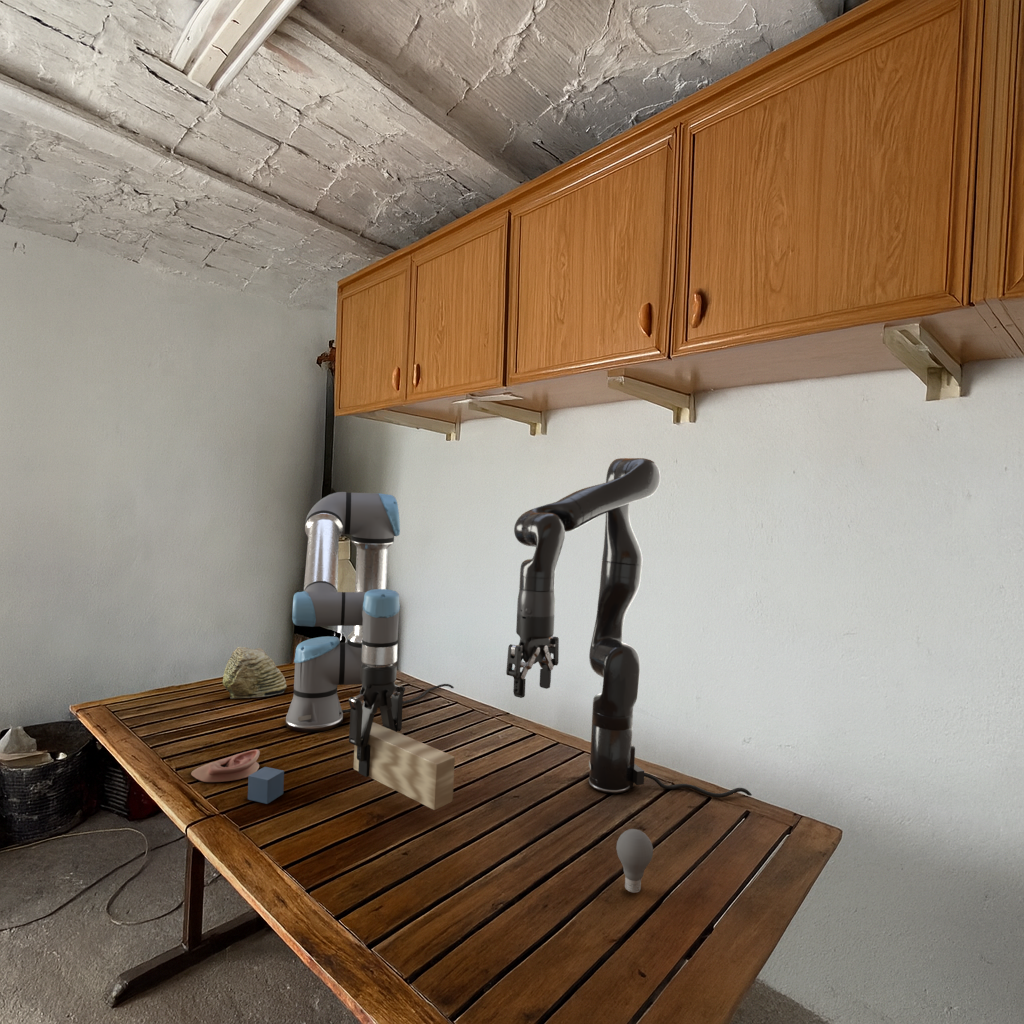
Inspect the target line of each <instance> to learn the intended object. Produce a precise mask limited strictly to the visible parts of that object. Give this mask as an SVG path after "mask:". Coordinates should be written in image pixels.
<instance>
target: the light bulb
mask: <svg viewBox="0 0 1024 1024" xmlns="http://www.w3.org/2000/svg"><path fill="white" fill-rule="evenodd" d="M615 849H616V854H617V857H618V859H619V861H620V863H621V865H622V867H623V873H624V874H623V875H624V876H625V878H624V888H625V890H627V891H628V892H630V893H634V894H635V893H639V892H640V891H641V889H642V887H641V886H642V879H643V877H644V875H645V871H646V868H647V867H648V866H649V864H650V863H651V861H652V859H653V855H654V847H653V843H652V841H651V838H649V836H648V835H647V834H646V833H645V832H643V831H642V830H641V829H636V828H629V829H627V830H625V831H623V832H622V833H621V834H620V835H619V837H618V839H617V841H616V847H615Z"/></svg>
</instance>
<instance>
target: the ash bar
mask: <svg viewBox="0 0 1024 1024" xmlns="http://www.w3.org/2000/svg"><path fill="white" fill-rule="evenodd" d="M368 745H371V747H370V770H369V776H368V777H367V778H371V779H372V780H374V781H377V782H378V783H380V784H382V785H384V786H386V787H388V788H390V789H392V790H393V791H396V792H398V793H399V794H402V795H403V796H406V797H407V798H409V799H412V800H413V801H415V802H417V803H419V804H421V805H423V806H425V807H426V808H429V809H431V810H433V811H436V810H438V809H440V808H442V807H444V806H446V805H448V804H450V803H452V802H453V801H454V781H455V764H456V763H455V762H456V761H455V760H456V757H455V756H454V755H452V754H450V753H447V752H445V751H443V750H440V749H438V748H436V747H433V746H431V745H429V744H427V743H423V742H421V741H419V740H417V739H415V738H412V737H409V736H407V735H404V734H403V733H401V732H399V731H397V732H395V731H393V730H391V729H388V728H386V727H384V726H383V725H381V724H379V723H376V722H375V721H373V723H372V727H371V731H370V735H369V740H368ZM353 748H354V749H353V767H352V769H353V770H354V771H357V772H358V769H359V760H357V746H356V745H354V744H353Z"/></svg>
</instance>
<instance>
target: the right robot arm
mask: <svg viewBox="0 0 1024 1024" xmlns="http://www.w3.org/2000/svg"><path fill="white" fill-rule="evenodd" d="M660 484H661V472H660V468H659V466H658V465H657V463H656V462H654V461H653V460H651V459H648V458H643V457H642V458H641V457H637V458H635V457H622V458H615V459H614V460H613V461H611V463H610V464H609V466H608V469H607V472H606V477H605V482H603V483H599V484H595V485H591V486H587V487H584V488H580V489H579V490H578V489H577V490H576V491H573V492H572V493H569V494H568V495H566V496H564V497H562V498H560V499H559V500H556V501H555V502H552V503H547V504H544V505H539V506H537V507H534V508H531V509H528V510H527V511H525V512H523V513H522V514H521V515H520V516H519V517H518V518H517V520H516V521H515V523H514V528H513V534H514V536H515V538H516V540H517V541H518V542H519V543H520V544H522V545H523V546H527V547H531V548H533V547H534V548H535V550H534V553H533V556H532V558H528V559H524V560H523V561H521V564H520V569H519V586H518V587H519V588H518V596H517V603H516V604H517V607H516V629H515V633H516V635H517V636H518V637H519V642H518V644H509V645H508V648H507V657H506V658H507V659H506V662H507V663H506V670H505V671H506V672H505V673H506V675H507V676H510V677H512V678H513V695H514V697H516V698H519V699H522V698H525V696H526V676H527V674H528V672H529V671H530V670H531V669H532V667H533V666H534V665H535V664H537V663H538V664H539V667H540V669H539V687H540V688H542V689H546V690H547V689H550V688H551V681H552V680H551V679H552V671H553V669H554V666H558V665H559V655H560V654H559V652H560V651H559V649H560V647H559V645H560V644H559V643H560V641H559V640H560V639H559V637H558V636H555V635H554V634H555V613H556V610H555V609H556V597H555V582H556V569H557V565H558V563H559V560H560V556H561V554H562V550H563V547H564V543H565V539H566V533H569V532H573V531H575V530H577V529H579V528H580V527H582V526H584V525H587V524H588V523H589V522H592V521H593V520H595V519H596V518H599V517H600V516H602V515H604V514H605V523H604V536H603V537H604V539H603V549H602V557H601V565H600V576H599V577H600V578H599V590H598V599H597V607H596V608H597V609H596V616H595V622H594V627H593V632H592V636H591V641H590V648H589V656H588V658H589V659H588V660H589V665H590V668H591V669H592V671H593V672H594V673H595V674H596V675H597V676H599V677H601V678H603V680H602V690H601V692H599V693H597V694H596V695H595V696H594V697H593V699H592V713H591V734H590V752H589V753H590V754H589V755H590V757H589V760H588V767H589V772H588V784H589V786H590V787H591V788H592V789H594V790H596V791H598V792H600V793H605V794H612V795H613V794H623V793H626V792H628V791H629V790H630V789H634V785H635V786H641V785H644V784H645V778H648V779H650V780H652V781H654V782H655V783H656V784H657V785H658V786H659V787H660V788H662V789H665V790H677V789H690V790H694V791H696V792H698V793H700V794H703V795H705V796H708V797H711V798H717V799H718V798H719V799H721V798H727V797H729V796H732V795H734V794H737V793H741V792H742V793H744V794H746V795H747V796H748V797H749V796H752V795H753V794H752V793H751V792H750V791H749V790H748V789H747V788H744V787H735V788H733V789H731V790H728V791H726V792H721V793H720V792H719V793H716V792H711V791H708V790H705V789H703V788H701V787H698V786H697V785H693V784H689V783H676V784H671V785H669V784H664V783H662V781H661V780H660V779H659V778H658V777H656V776H654V775H653V774H650V773H647V772H645V770H644V769H643V768H641V767H640V766H638V764H636V762H635V760H636V746H635V745H633V724H634V707H635V705H636V702H637V701H638V697H639V696H638V695H639V687H640V686H639V685H640V676H641V659H640V655H639V653H638V651H637V649H636V648H635V647H634V646H632V645H629V644H628V643H625V642H624V641H623V634H624V624H625V618H626V615H627V613H628V610H629V609H630V606H631V604H632V603H633V601H634V599H635V597H637V596H636V595H637V594H638V592H639V589H640V586H641V580H642V569H643V553H642V550H641V546H640V543H639V541H638V539H637V536H636V534H635V532H634V530H633V527H632V524H631V518H630V504H631V503H633V502H638V501H641V500H644V499H647V498H649V497H651V496H653V495H654V494H655V493H656V492H657V491H658V488H659V487H660ZM552 656H553V657H552ZM513 666H514V667H513ZM521 668H522V669H521ZM733 793H734V794H733Z"/></svg>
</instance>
